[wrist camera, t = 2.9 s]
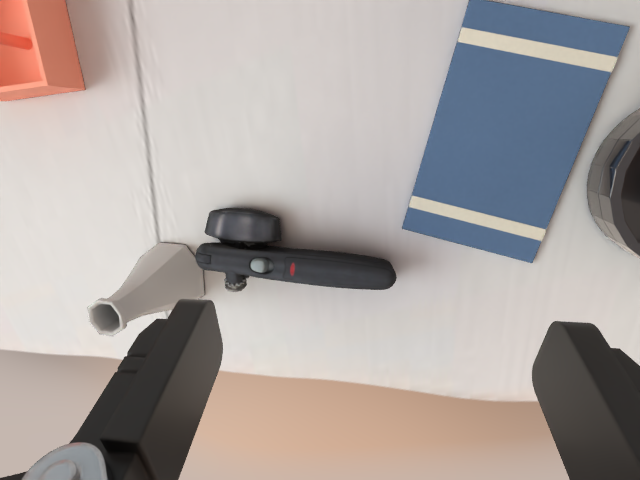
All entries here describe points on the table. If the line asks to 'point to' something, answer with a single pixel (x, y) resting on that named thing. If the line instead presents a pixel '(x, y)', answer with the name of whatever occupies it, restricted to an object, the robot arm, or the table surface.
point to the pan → (618, 185)
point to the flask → (150, 288)
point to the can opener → (281, 256)
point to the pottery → (37, 50)
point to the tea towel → (510, 125)
